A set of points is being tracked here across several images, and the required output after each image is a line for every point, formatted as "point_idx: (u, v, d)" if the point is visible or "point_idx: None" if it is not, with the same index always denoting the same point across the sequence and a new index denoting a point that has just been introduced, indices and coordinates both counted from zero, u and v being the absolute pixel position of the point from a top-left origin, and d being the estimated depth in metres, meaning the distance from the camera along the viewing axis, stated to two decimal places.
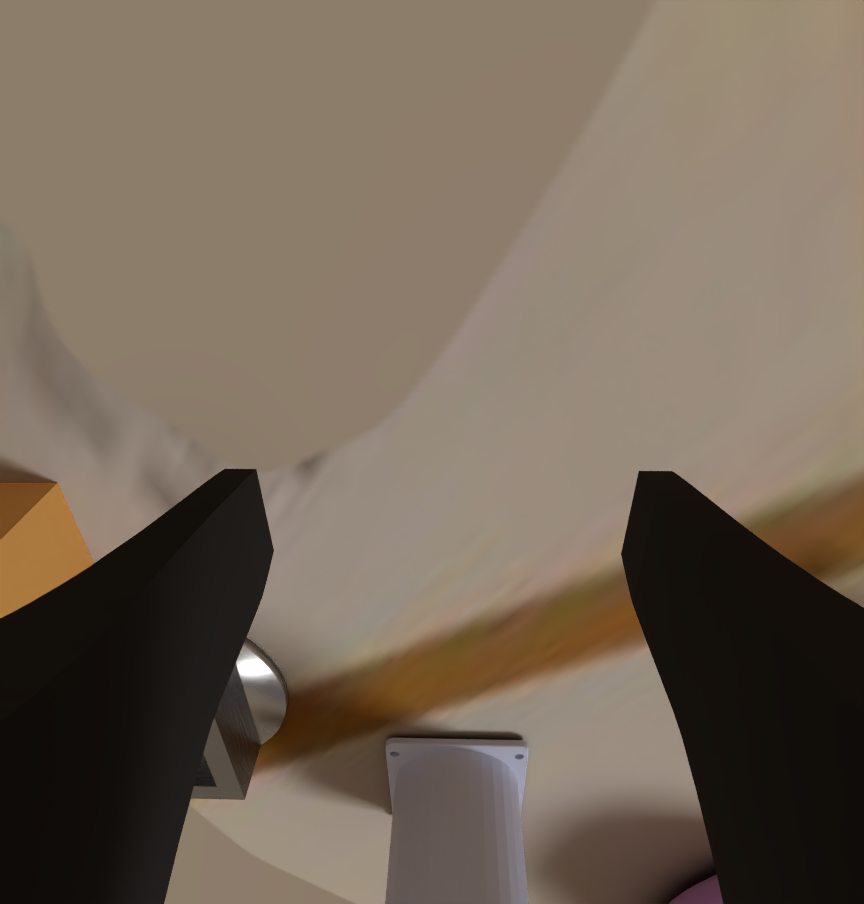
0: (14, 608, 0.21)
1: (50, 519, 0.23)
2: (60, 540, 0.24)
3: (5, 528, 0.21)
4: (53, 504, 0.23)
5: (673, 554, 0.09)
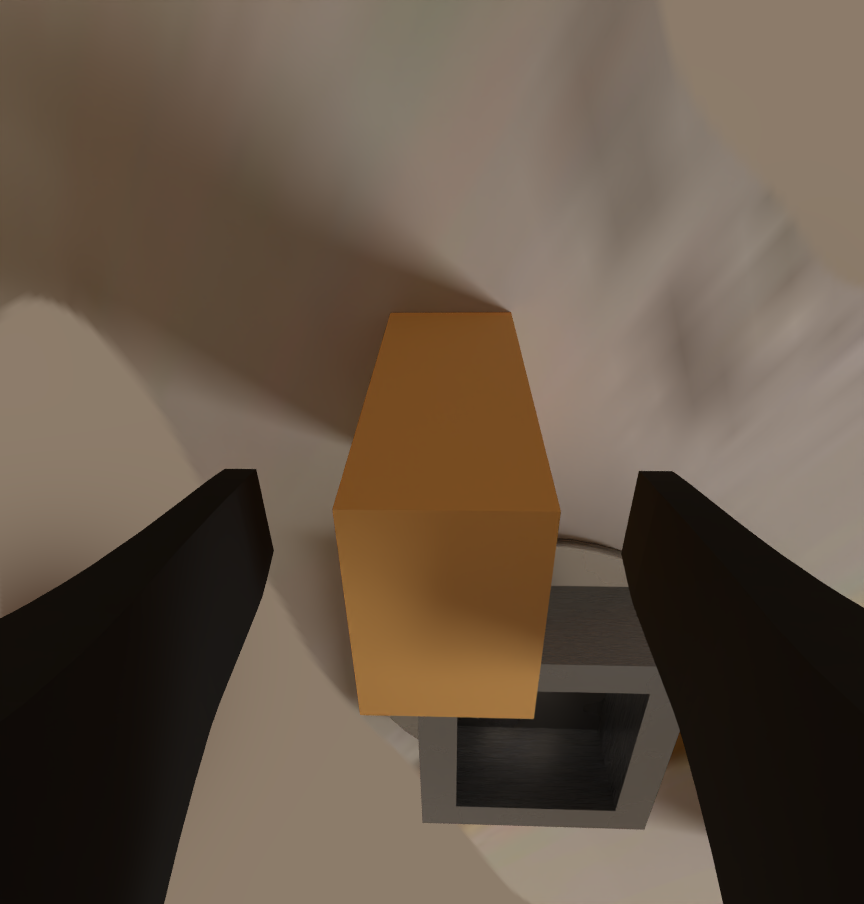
0: None
1: None
2: None
3: (512, 359, 0.12)
4: None
5: (674, 553, 0.09)
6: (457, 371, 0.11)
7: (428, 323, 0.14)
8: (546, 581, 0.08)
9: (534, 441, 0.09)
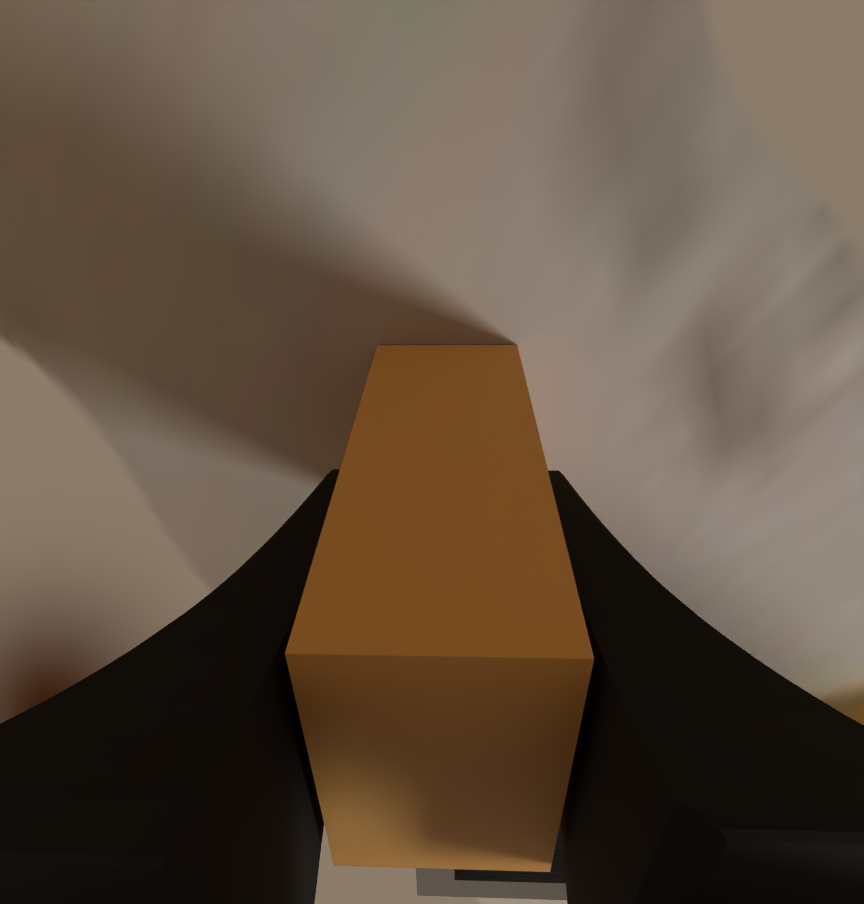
0: None
1: None
2: None
3: (520, 409, 0.10)
4: None
5: None
6: (455, 428, 0.09)
7: (420, 360, 0.12)
8: (571, 733, 0.06)
9: (553, 537, 0.07)
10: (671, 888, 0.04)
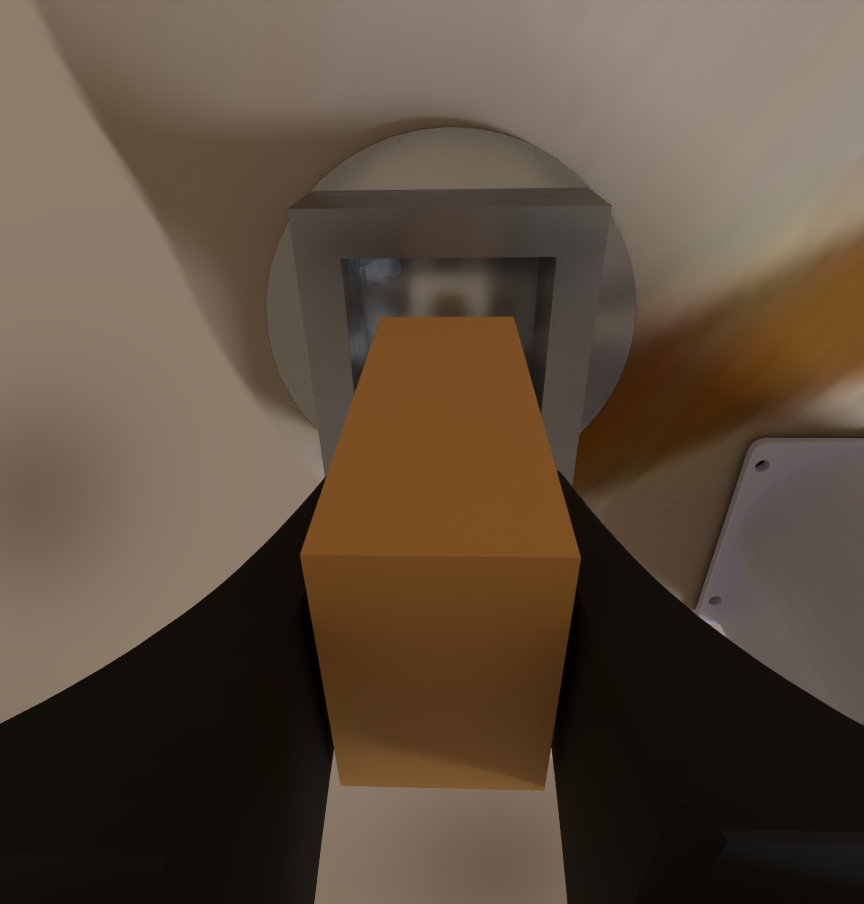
0: None
1: None
2: None
3: (516, 368, 0.10)
4: None
5: None
6: (454, 382, 0.10)
7: (422, 329, 0.12)
8: (562, 638, 0.07)
9: (545, 466, 0.08)
10: (670, 888, 0.04)
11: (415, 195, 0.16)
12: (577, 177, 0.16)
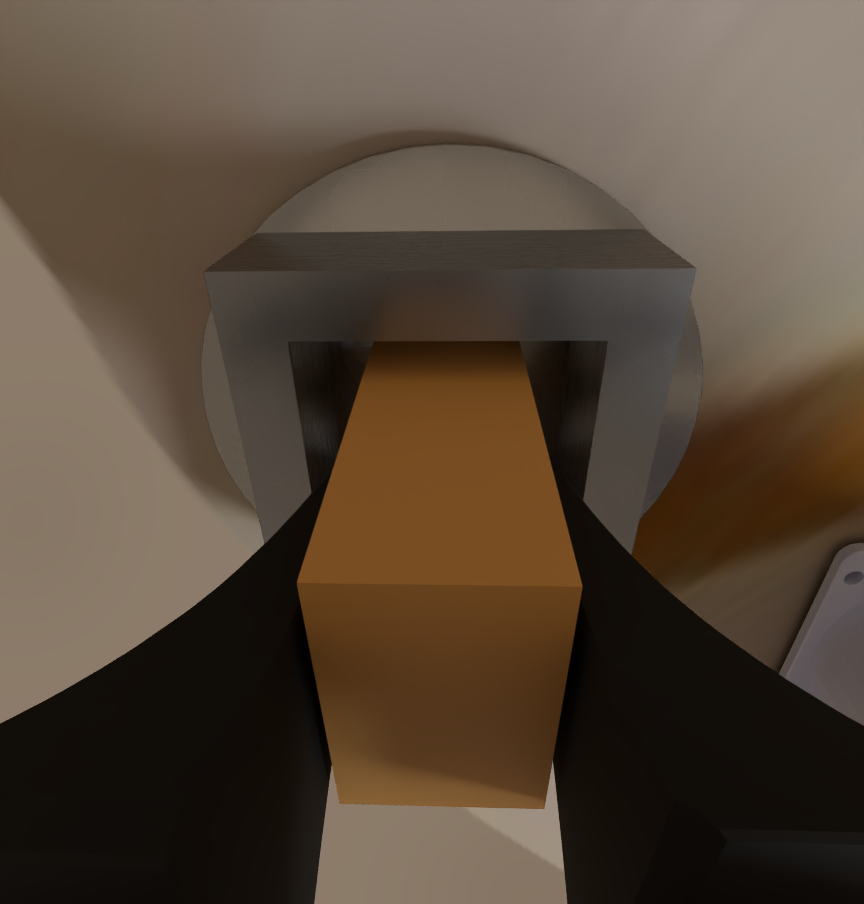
0: None
1: None
2: None
3: (516, 379, 0.10)
4: None
5: None
6: (454, 394, 0.10)
7: None
8: (562, 664, 0.07)
9: (546, 486, 0.07)
10: (670, 888, 0.04)
11: (399, 243, 0.11)
12: (630, 215, 0.12)
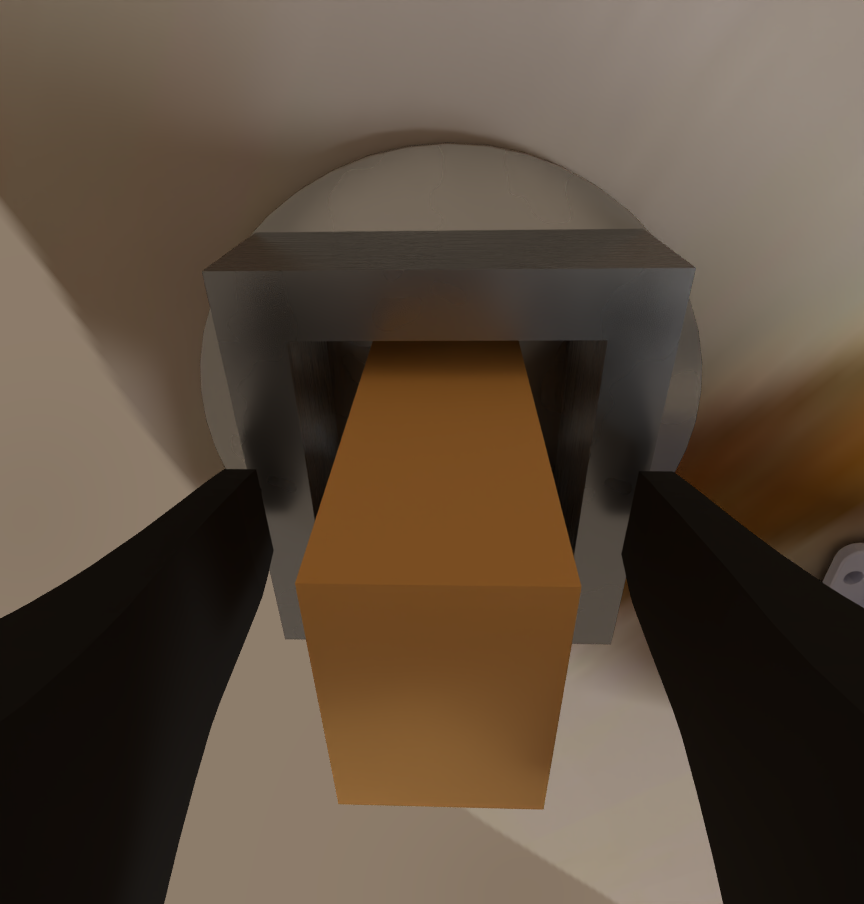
0: None
1: None
2: None
3: (516, 378, 0.10)
4: None
5: (673, 554, 0.09)
6: (453, 394, 0.10)
7: None
8: (562, 664, 0.07)
9: (545, 486, 0.07)
10: None
11: (398, 243, 0.11)
12: (629, 214, 0.11)
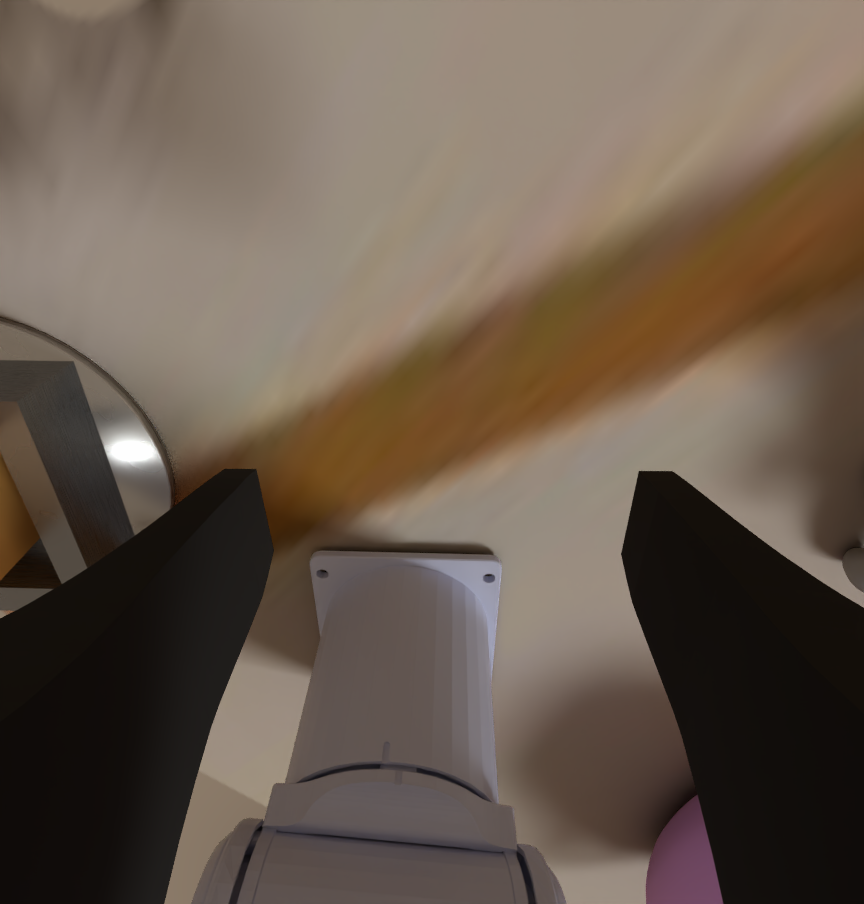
0: None
1: None
2: None
3: None
4: None
5: (674, 554, 0.09)
6: None
7: None
8: None
9: None
10: None
11: None
12: (62, 353, 0.19)
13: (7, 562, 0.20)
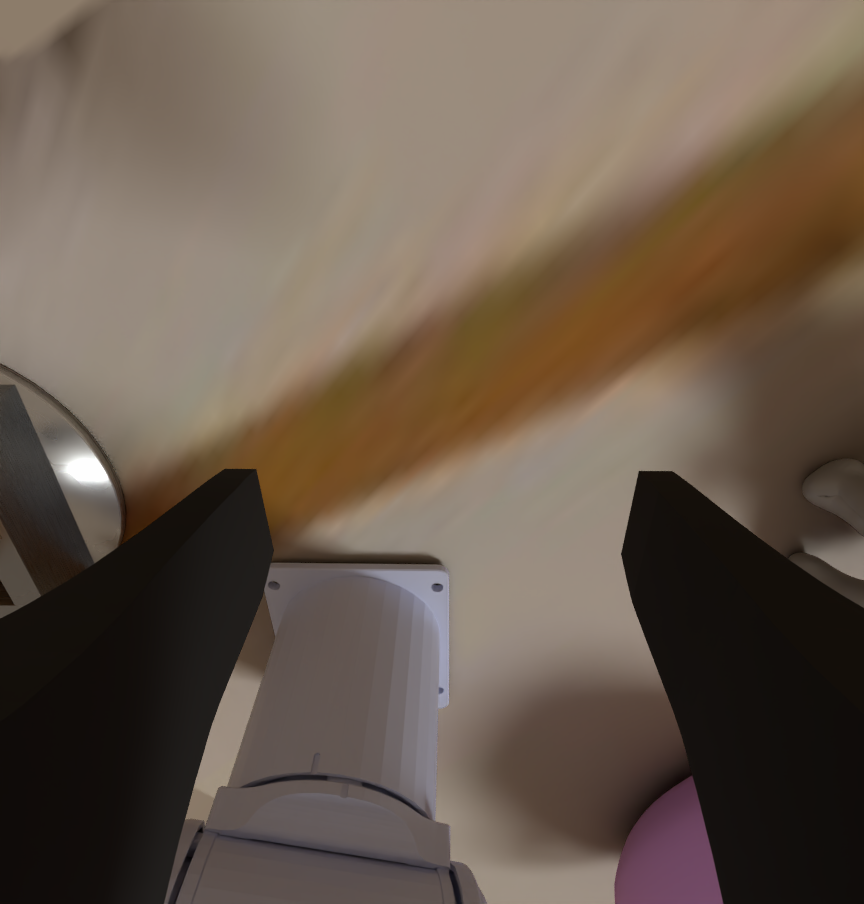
0: None
1: None
2: None
3: None
4: None
5: (673, 554, 0.09)
6: None
7: None
8: None
9: None
10: None
11: None
12: (4, 377, 0.20)
13: None
